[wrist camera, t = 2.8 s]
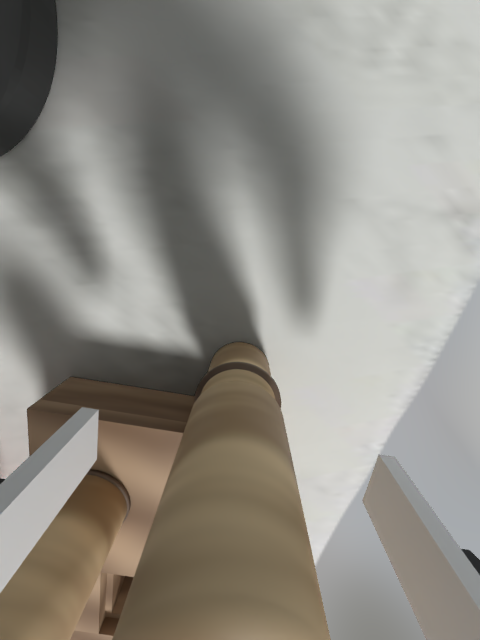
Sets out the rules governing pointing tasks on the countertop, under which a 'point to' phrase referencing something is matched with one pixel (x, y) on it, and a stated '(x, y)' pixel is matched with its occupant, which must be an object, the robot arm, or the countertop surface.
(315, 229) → the countertop surface
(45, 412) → the board
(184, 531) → the peg
